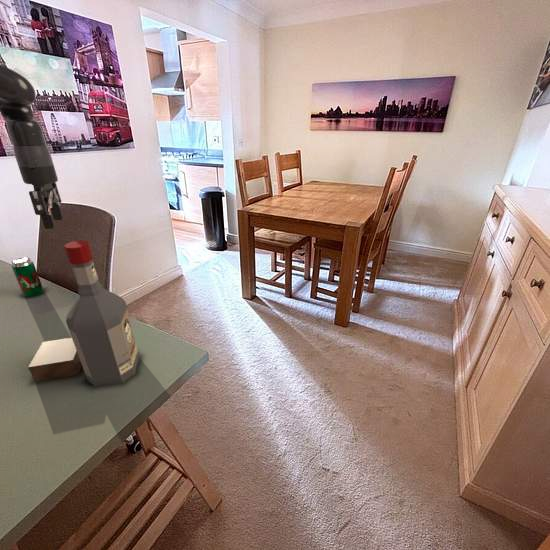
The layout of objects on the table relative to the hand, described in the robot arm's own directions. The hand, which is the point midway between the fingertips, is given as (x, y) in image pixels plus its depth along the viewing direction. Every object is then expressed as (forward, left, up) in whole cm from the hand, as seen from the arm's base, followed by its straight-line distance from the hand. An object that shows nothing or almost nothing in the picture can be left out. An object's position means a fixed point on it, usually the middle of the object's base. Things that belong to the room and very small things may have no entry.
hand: (54, 223), depth 86 cm
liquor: (+18, -41, -22) cm, 50 cm away
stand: (+7, -37, -22) cm, 43 cm away
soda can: (-11, -1, -22) cm, 25 cm away
